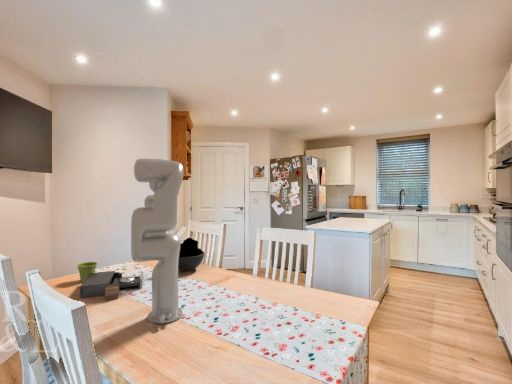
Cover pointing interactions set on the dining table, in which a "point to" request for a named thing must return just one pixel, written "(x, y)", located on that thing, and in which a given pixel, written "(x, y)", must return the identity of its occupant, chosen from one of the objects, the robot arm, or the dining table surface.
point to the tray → (135, 283)
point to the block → (112, 292)
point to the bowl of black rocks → (189, 255)
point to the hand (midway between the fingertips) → (156, 253)
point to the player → (98, 283)
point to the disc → (126, 280)
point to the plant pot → (86, 269)
